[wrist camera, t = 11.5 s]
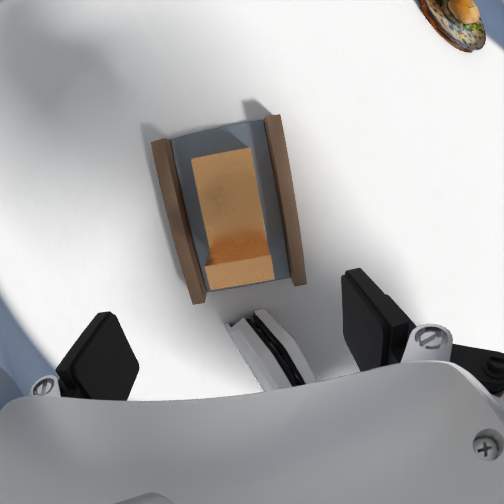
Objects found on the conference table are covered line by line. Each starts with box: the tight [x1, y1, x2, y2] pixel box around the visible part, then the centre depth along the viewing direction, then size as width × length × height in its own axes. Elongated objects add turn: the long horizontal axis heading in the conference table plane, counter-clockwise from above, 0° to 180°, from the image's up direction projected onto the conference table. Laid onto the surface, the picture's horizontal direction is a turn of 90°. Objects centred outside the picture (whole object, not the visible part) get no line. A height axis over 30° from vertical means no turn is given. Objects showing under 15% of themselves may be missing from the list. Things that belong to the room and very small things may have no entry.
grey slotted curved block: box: [224, 308, 318, 392], centre depth 30 cm, size 17×5×10 cm, turn 23°
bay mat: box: [171, 120, 290, 292], centre depth 27 cm, size 9×16×1 cm, turn 11°
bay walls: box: [151, 114, 307, 305], centre depth 26 cm, size 11×16×2 cm
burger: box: [420, 0, 486, 53], centre depth 15 cm, size 12×12×8 cm
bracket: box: [191, 147, 275, 290], centre depth 23 cm, size 10×5×7 cm, turn 10°
